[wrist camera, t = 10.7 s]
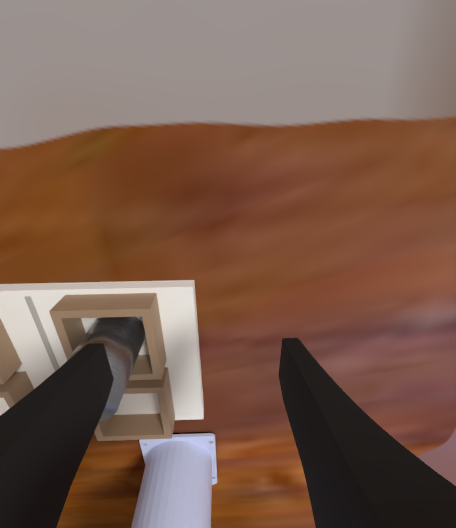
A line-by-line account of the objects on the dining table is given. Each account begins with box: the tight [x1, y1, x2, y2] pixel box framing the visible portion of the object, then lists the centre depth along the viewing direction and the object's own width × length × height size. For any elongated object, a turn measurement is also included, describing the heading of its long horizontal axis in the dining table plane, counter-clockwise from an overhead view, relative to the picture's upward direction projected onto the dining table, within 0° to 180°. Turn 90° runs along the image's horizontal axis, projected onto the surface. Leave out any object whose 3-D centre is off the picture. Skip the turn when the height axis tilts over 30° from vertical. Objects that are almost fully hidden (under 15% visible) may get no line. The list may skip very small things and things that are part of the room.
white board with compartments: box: [0, 280, 204, 441], centre depth 19 cm, size 15×24×7 cm, turn 91°
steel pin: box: [67, 317, 146, 421], centre depth 18 cm, size 4×4×6 cm
